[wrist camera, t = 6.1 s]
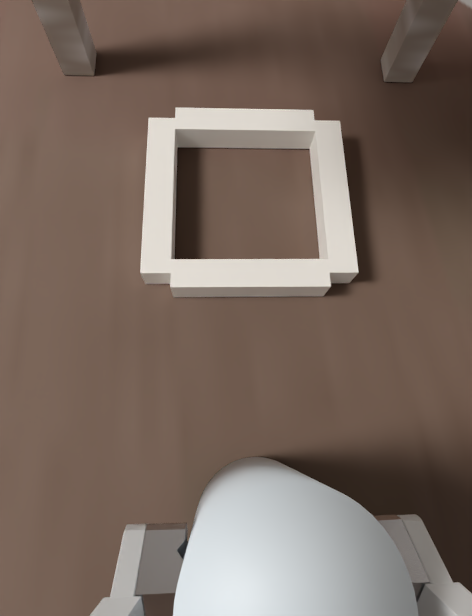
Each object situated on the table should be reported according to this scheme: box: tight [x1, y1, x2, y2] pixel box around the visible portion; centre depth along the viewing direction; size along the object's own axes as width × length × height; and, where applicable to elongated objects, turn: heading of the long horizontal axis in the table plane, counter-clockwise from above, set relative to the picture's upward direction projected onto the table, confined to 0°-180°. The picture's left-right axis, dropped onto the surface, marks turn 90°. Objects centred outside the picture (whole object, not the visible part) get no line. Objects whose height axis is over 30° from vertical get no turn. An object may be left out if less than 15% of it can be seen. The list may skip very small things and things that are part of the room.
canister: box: [173, 457, 418, 616], centre depth 11 cm, size 4×4×8 cm
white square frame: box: [140, 108, 359, 297], centre depth 18 cm, size 9×9×1 cm
